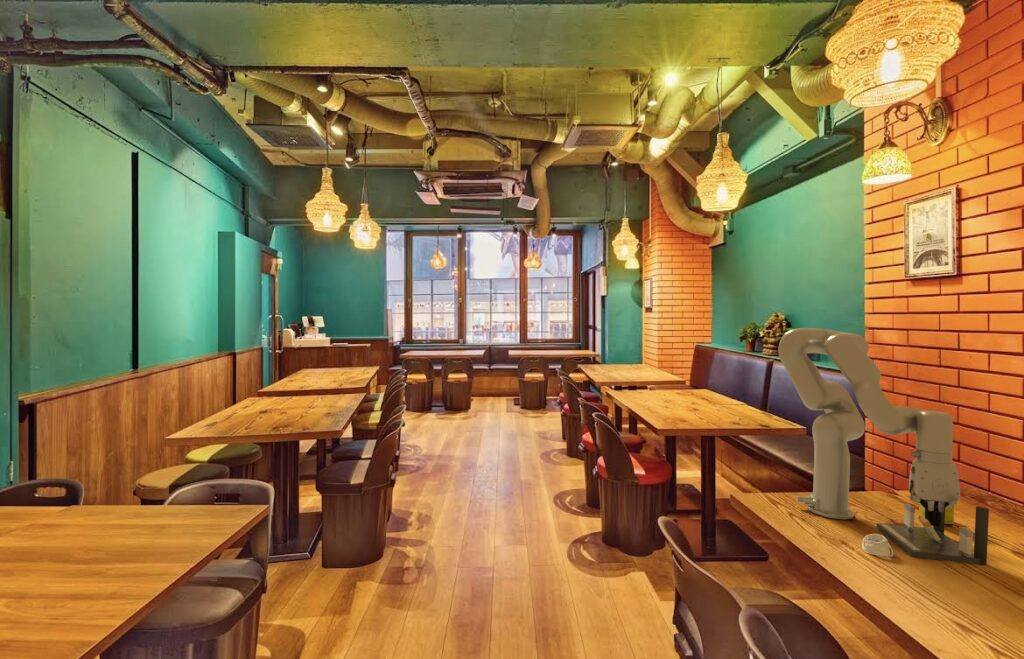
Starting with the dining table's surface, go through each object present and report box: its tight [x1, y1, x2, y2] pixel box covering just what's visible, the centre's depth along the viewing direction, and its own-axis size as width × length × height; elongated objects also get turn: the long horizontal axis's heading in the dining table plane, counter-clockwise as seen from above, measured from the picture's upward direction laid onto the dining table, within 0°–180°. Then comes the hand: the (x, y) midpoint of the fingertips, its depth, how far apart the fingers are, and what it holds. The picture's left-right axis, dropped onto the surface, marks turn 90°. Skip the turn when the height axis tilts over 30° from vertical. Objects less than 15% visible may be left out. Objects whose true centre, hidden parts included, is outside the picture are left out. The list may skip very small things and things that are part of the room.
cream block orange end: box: [917, 516, 941, 542], centre depth 134 cm, size 1×3×6 cm
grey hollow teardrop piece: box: [861, 533, 894, 558], centre depth 129 cm, size 8×7×5 cm
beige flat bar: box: [903, 503, 916, 528], centre depth 141 cm, size 1×3×6 cm, turn 168°
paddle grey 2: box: [958, 526, 974, 555], centre depth 126 cm, size 1×3×6 cm, turn 168°
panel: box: [875, 522, 980, 565], centre depth 134 cm, size 15×18×2 cm
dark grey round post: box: [932, 506, 990, 566], centre depth 132 cm, size 2×19×14 cm, turn 168°
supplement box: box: [918, 503, 955, 527], centre depth 150 cm, size 6×6×11 cm
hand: (932, 524), depth 133 cm, fingers closed
